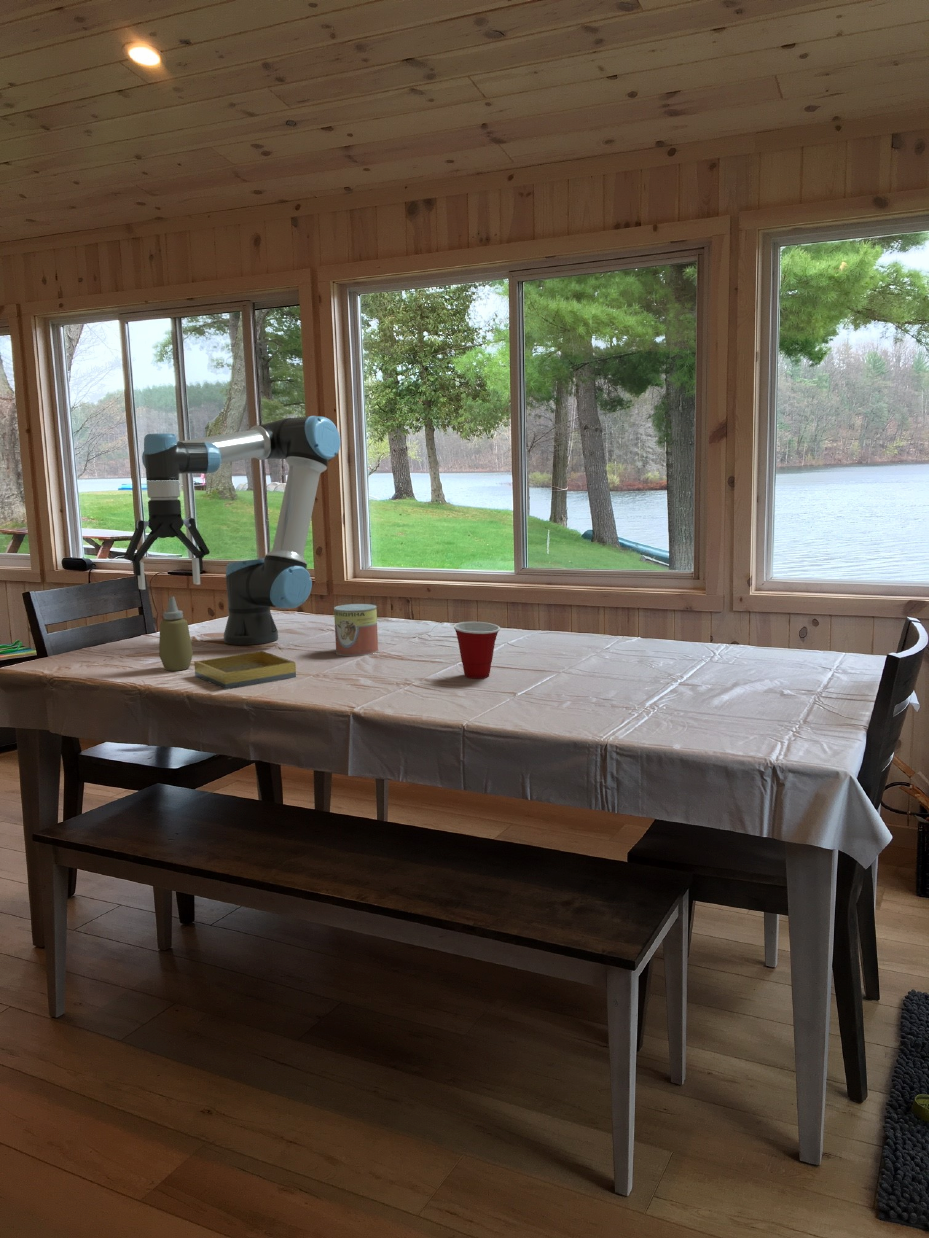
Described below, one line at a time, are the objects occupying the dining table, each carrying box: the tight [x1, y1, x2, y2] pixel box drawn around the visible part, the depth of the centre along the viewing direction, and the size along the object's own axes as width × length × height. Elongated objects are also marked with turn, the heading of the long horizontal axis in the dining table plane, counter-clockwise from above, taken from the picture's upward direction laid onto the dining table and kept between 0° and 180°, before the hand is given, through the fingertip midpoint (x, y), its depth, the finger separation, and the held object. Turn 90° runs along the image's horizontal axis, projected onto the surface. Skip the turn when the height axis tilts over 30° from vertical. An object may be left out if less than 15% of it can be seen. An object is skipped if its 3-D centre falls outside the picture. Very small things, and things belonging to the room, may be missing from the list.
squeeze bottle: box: [158, 596, 194, 672], centre depth 229 cm, size 8×8×18 cm
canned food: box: [333, 603, 379, 657], centre depth 246 cm, size 11×11×12 cm
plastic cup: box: [453, 621, 501, 679], centre depth 215 cm, size 11×11×12 cm
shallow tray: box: [193, 650, 297, 690], centre depth 220 cm, size 18×18×4 cm
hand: (170, 586), depth 227 cm, fingers open, 13 cm apart
